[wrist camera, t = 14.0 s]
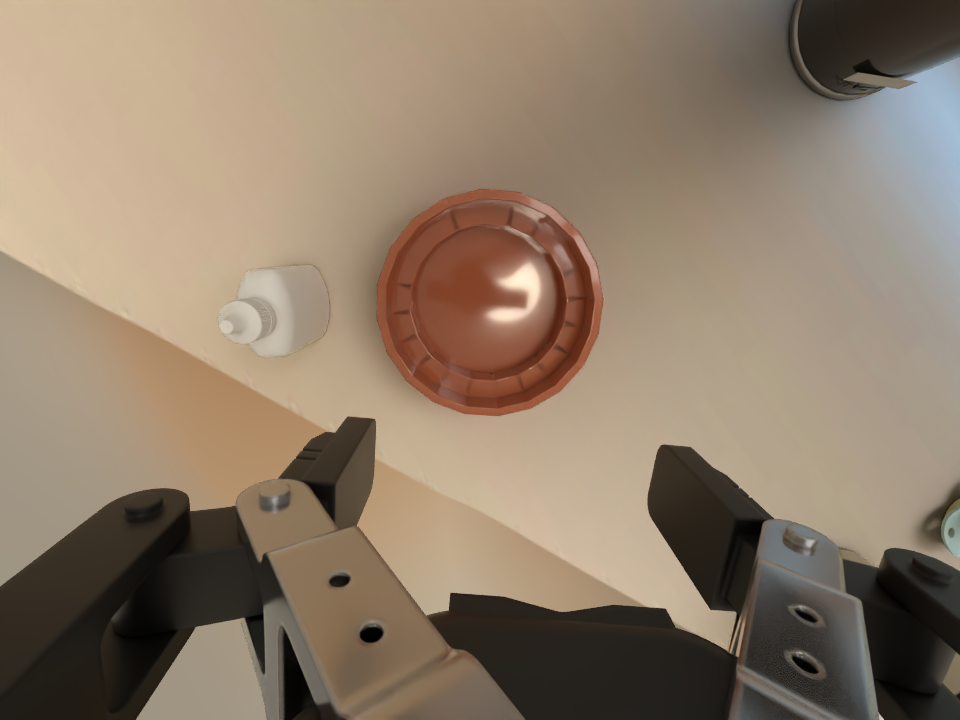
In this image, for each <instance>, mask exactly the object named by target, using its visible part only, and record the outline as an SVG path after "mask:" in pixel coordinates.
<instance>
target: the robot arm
mask: <svg viewBox="0 0 960 720" xmlns="http://www.w3.org/2000/svg"><path fill="white" fill-rule="evenodd" d="M790 48H791V54H792V57H793V61H794V64H795V66H796V68H797V70H798V72H799V74H800V75H801V77H802V78H803V80H804V81H805V82H806V83H807V84H808V85H809V86H810V87H811V88H812V89H814V90H815V91H816V92H818V93H820V94H822V95H824V96H827V97H830V98H833V99H841V100H848V99H856V98H861V97H864V96H867V95H869V94H872V93H874V92H877V91H879V90H881V89H883V88H885V87H890V88H896V89H900V88H903V87H906V86H908V85H911V84H913V83H916V82H914V81H908V80H903V79H906V78H908V77H911V76H913V75H916V74H919V73H921V72H924V71H926V70H929V69H931V68H934V67H936V66H939V65H941V64H944V63H946V62H949V61H951V60H954V59H956V58H959V57H960V0H797V1H796V4H795V7H794V10H793V14H792V18H791V24H790ZM375 440H376V421H375V419H370V418H359V417H347V418H346V419H345V420H344V422H343V423H342V424H341V426H340V427H339V429H338V430H337V431H336V433H332V432H325V433H323V434H321V435H319V436H317V437H315V438H313V439H311V440H310V441H309V442H308V444H307V445H306V446H305V447H304V448H303V451H301V452H300V453H299V454H298V456H297V457H296V459H294V460H293V461H292V463H291V464H290V465H289V466H288V467H287V468H286V470H285V471H284V472H283V473H282V474H281V476H280V477H279V478H278V479H273V480H268V481H263V482H260V483H257V484H254V485H252V486H250V487H248V488H247V489H245V490H244V491H242V492H241V493H240V494H239V495H238V497H237V499H236V506H232V507H226V508H219V509H208V510H199V511H190V504H189V497H188V496H187V494H185V493H184V492H182V491H179V490H175V489H167V488H160V489H150V490H144V491H139V492H135V493H132V494H129V495H126V496H123V497H121V498H118V499H116V500H114V501H112V502H111V503H109V504H107V505H106V506H104V507H103V508H102V509H101V510H99V511H98V512H97V513H95V514H94V515H93V516H92V517H90V518H89V519H88V520H86V521H85V522H84V523H83V524H81V525H80V526H78V527H77V528H76V529H75V530H73V531H72V532H71V533H69V534H68V535H67V536H65V537H64V538H63V539H62V540H60V541H59V542H58V543H56V544H55V545H54V546H52V547H51V548H50V549H49V550H47V551H46V552H45V553H43V554H42V555H41V556H39V557H38V558H37V559H36V560H34V561H33V562H32V563H30V564H29V565H28V566H27V567H25V568H24V569H23V570H21V571H20V572H19V573H17V574H16V575H15V576H13V577H12V578H11V579H10V580H8V581H7V582H6V583H4V584H3V585H2V586H0V720H136V718H137V716H138V715H139V714H140V712H141V711H142V709H143V708H144V706H145V705H146V703H147V702H148V700H149V698H150V697H151V695H152V694H153V692H154V691H155V689H156V688H157V686H158V685H159V683H160V682H161V680H162V679H163V677H164V675H165V674H166V672H167V671H168V669H169V668H170V666H171V665H172V663H173V662H174V660H175V658H176V657H177V655H178V654H179V653H180V651H181V649H182V648H183V646H184V645H185V643H186V642H187V640H188V639H189V637H190V636H191V634H192V633H193V631H194V629H195V627H197V626H203V625H208V624H213V623H219V622H223V621H229V620H235V619H240V618H241V625H242V628H243V632H244V635H245V639H246V642H247V645H248V649H249V652H250V655H251V659H252V662H253V665H254V669H255V672H256V675H257V678H258V682H259V685H260V689H261V692H262V696H263V700H264V705H265V712H266V718H267V720H879V714H880V715H881V716H882V717H883V718H884V720H960V700H959V699H958V698H957V697H956V696H955V695H954V694H953V693H952V692H951V691H950V690H949V689H948V688H947V687H946V686H945V685H944V684H943V681H944V678H945V676H946V674H947V672H948V670H949V667H950V665H951V663H952V661H953V658H954V656H955V654H956V652H957V653H958V654H959V655H960V571H958V570H957V569H955V568H953V567H951V566H949V565H947V564H946V563H943V562H942V561H939V560H937V559H935V558H932V557H930V556H927V555H924V554H921V553H918V552H914V551H910V550H906V549H900V548H890V549H887V550H886V551H885V552H884V555H883V557H882V560H881V563H880V565H879V568H877V567H873V566H869V565H866V564H862V563H858V562H854V561H850V560H846V559H842V553H841V550H840V549H839V547H838V546H837V545H836V544H835V543H834V542H833V541H831V540H830V539H829V538H827V537H826V536H824V535H823V534H821V533H819V532H817V531H815V530H813V529H811V528H809V527H807V526H804V525H801V524H798V523H795V522H792V521H787V520H781V519H774V518H773V517H772V516H771V515H770V514H768V513H767V512H766V511H765V510H764V509H763V508H762V507H761V506H760V505H759V504H758V503H756V502H755V501H754V500H753V499H752V498H749V495H748V494H747V493H745V492H744V491H743V490H742V489H741V488H739V486H738V485H737V484H736V483H735V482H733V481H732V480H731V479H730V478H729V477H728V476H727V475H725V474H723V473H722V472H720V471H718V470H716V469H715V468H713V467H712V466H711V465H710V464H708V463H707V462H706V461H705V460H704V459H703V458H702V457H701V456H700V455H699V454H698V453H697V452H696V451H695V450H693V449H692V448H691V447H685V446H674V445H661V446H660V448H659V449H658V452H657V455H656V460H655V464H654V469H653V474H652V478H651V483H650V487H649V492H648V510H649V514H650V517H651V518H652V520H653V522H654V523H655V525H656V526H657V528H658V529H659V531H660V532H661V534H662V536H663V537H664V539H665V540H666V542H667V543H668V545H669V546H670V548H671V549H672V551H673V553H674V554H675V556H676V557H677V559H678V560H679V562H680V563H681V565H682V566H683V568H684V570H685V571H686V573H687V574H688V576H689V577H690V579H691V580H692V582H693V583H694V585H695V587H696V588H697V590H698V591H699V593H700V594H701V596H702V597H703V599H704V600H705V602H706V603H707V605H708V607H709V608H710V610H722V611H736V613H737V614H736V618H735V621H734V624H733V628H732V632H731V636H730V641H729V645H728V649H727V651H726V650H725V649H723V648H721V647H720V646H718V645H716V644H714V643H712V642H710V641H708V640H706V639H704V638H702V637H700V636H697V635H695V634H692V633H690V632H687V631H684V630H681V629H678V628H676V627H675V625H674V623H673V622H672V620H671V618H670V616H669V614H668V612H667V610H666V609H662V608H649V607H635V606H622V605H610V606H603V607H597V608H590V609H583V610H577V611H570V612H558V611H554V610H550V609H546V608H543V607H539V606H536V605H532V604H528V603H525V602H521V601H517V600H514V599H510V598H506V597H500V596H486V595H473V594H459V593H451V594H450V604H449V611H443V612H438V613H434V614H431V615H427V616H426V615H425V614H424V612H423V611H422V610H421V608H420V607H419V606H418V604H417V603H416V602H415V600H414V599H413V598H412V597H411V595H410V594H409V593H408V591H407V590H406V589H405V587H404V586H403V585H402V583H401V582H400V581H399V580H398V578H397V577H396V576H395V574H394V573H393V572H392V570H391V569H390V568H389V566H388V565H387V564H386V562H385V561H384V560H383V558H382V557H381V556H380V554H379V553H378V552H377V550H376V549H375V548H374V546H373V545H372V544H371V543H370V541H369V540H368V539H367V537H366V536H365V535H364V533H363V532H362V531H361V530H360V528H359V527H357V523H358V521H359V519H360V516H361V514H362V512H363V509H364V507H365V504H366V502H367V499H368V497H369V495H370V492H371V489H372V484H373V477H374V461H375ZM878 712H879V714H878Z"/></svg>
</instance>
